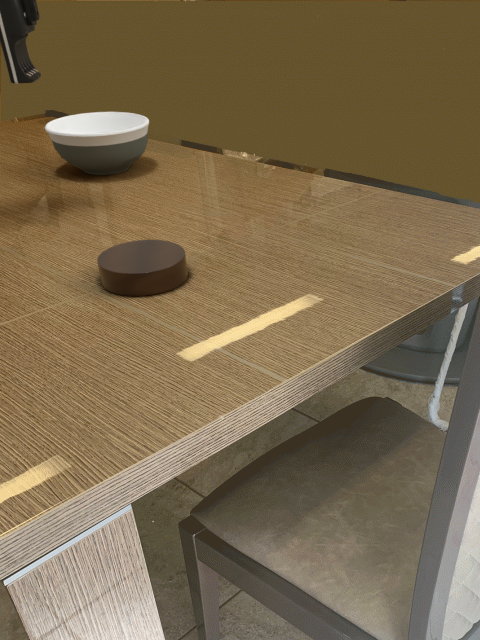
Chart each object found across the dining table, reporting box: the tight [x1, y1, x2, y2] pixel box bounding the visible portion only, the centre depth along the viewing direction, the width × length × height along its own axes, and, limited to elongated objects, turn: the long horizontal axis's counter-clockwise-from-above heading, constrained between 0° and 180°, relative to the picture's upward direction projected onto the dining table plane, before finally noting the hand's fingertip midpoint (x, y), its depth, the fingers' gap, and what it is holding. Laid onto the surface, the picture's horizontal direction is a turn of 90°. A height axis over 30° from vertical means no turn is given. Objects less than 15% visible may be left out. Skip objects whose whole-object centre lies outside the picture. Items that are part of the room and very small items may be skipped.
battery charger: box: [0, 0, 42, 85], centre depth 93 cm, size 7×4×11 cm, turn 7°
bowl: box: [44, 111, 150, 176], centre depth 121 cm, size 19×19×8 cm
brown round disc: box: [96, 239, 189, 297], centre depth 83 cm, size 11×11×3 cm
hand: (16, 24), depth 92 cm, fingers closed on battery charger, 4 cm apart
